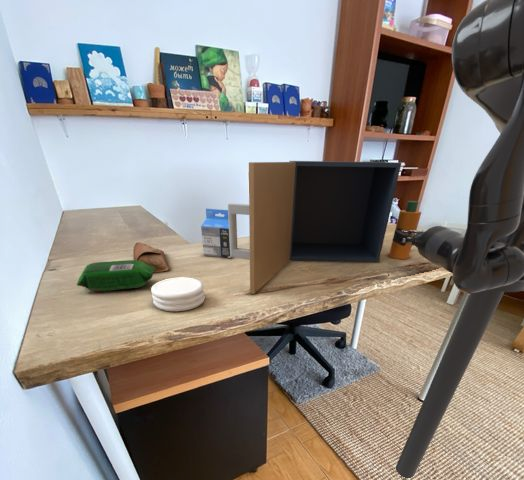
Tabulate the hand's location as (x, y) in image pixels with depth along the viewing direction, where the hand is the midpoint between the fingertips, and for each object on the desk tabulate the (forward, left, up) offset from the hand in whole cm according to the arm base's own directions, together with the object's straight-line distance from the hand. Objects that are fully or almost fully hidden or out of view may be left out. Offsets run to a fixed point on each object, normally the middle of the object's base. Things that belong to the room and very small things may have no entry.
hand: (413, 232), depth 80 cm
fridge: (+18, +13, -8) cm, 24 cm away
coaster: (+7, +65, -8) cm, 66 cm away
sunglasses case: (+36, +62, -8) cm, 73 cm away
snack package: (+22, +73, -8) cm, 77 cm away
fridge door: (+12, +41, -8) cm, 44 cm away
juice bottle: (+4, -3, -8) cm, 10 cm away
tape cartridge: (+33, +43, -8) cm, 55 cm away
